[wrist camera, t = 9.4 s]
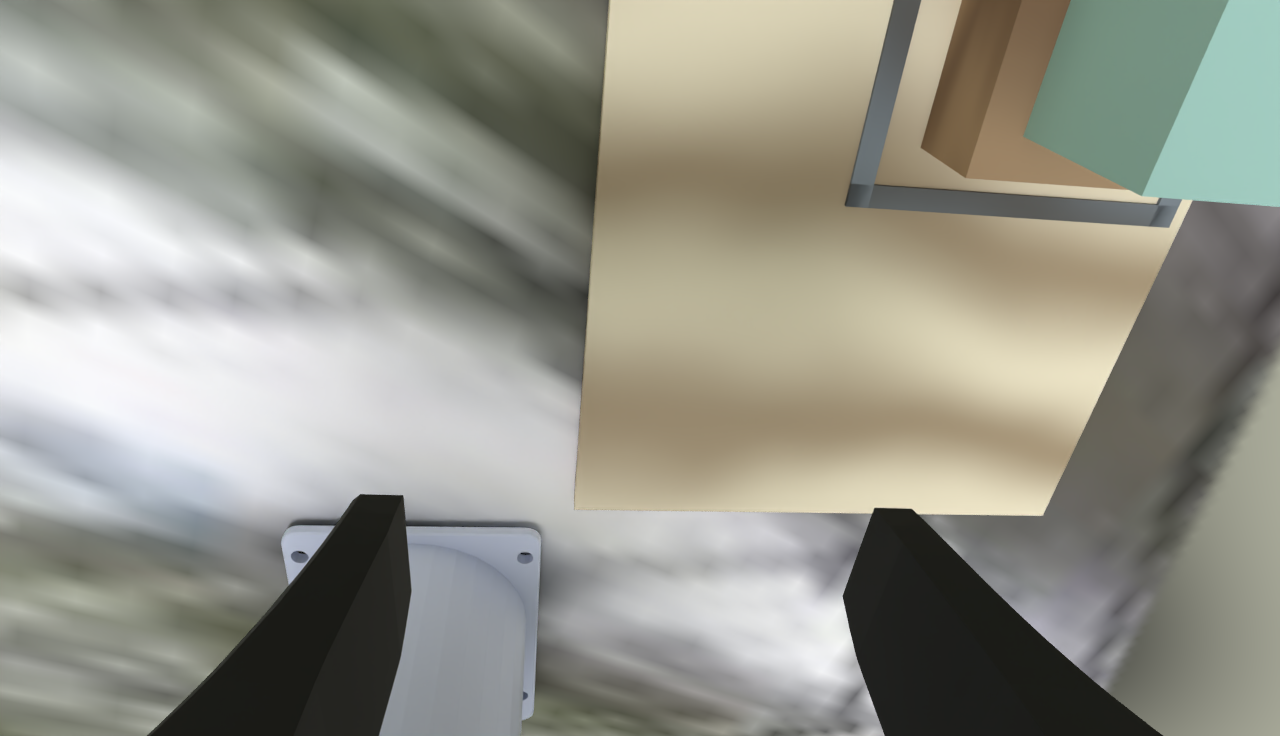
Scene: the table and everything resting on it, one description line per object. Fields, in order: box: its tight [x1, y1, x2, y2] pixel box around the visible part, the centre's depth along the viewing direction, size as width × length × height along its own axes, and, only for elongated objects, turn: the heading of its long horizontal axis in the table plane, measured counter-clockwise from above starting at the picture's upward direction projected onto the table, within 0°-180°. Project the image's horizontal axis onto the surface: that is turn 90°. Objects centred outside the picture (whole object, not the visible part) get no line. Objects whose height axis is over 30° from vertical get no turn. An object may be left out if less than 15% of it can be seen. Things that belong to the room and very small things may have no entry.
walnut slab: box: [921, 0, 1128, 190], centre depth 17 cm, size 6×6×2 cm
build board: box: [574, 0, 1192, 516], centre depth 20 cm, size 20×16×1 cm
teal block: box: [1023, 0, 1280, 207], centre depth 14 cm, size 4×4×4 cm
